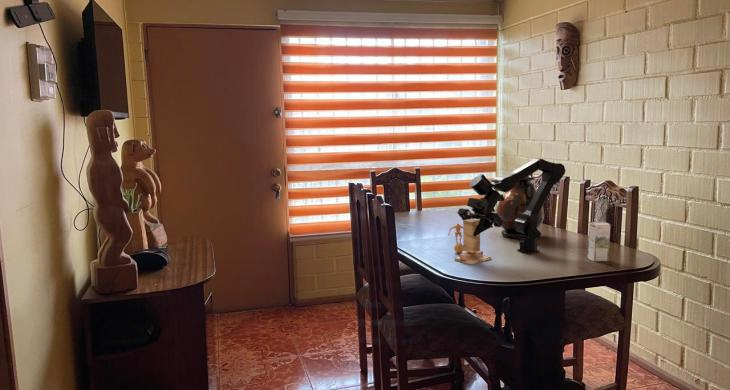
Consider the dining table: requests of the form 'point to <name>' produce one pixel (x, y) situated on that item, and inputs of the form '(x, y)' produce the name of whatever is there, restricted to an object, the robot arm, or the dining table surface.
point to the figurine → (458, 246)
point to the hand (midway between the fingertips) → (469, 234)
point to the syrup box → (598, 241)
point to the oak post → (470, 236)
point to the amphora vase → (517, 206)
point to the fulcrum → (472, 257)
